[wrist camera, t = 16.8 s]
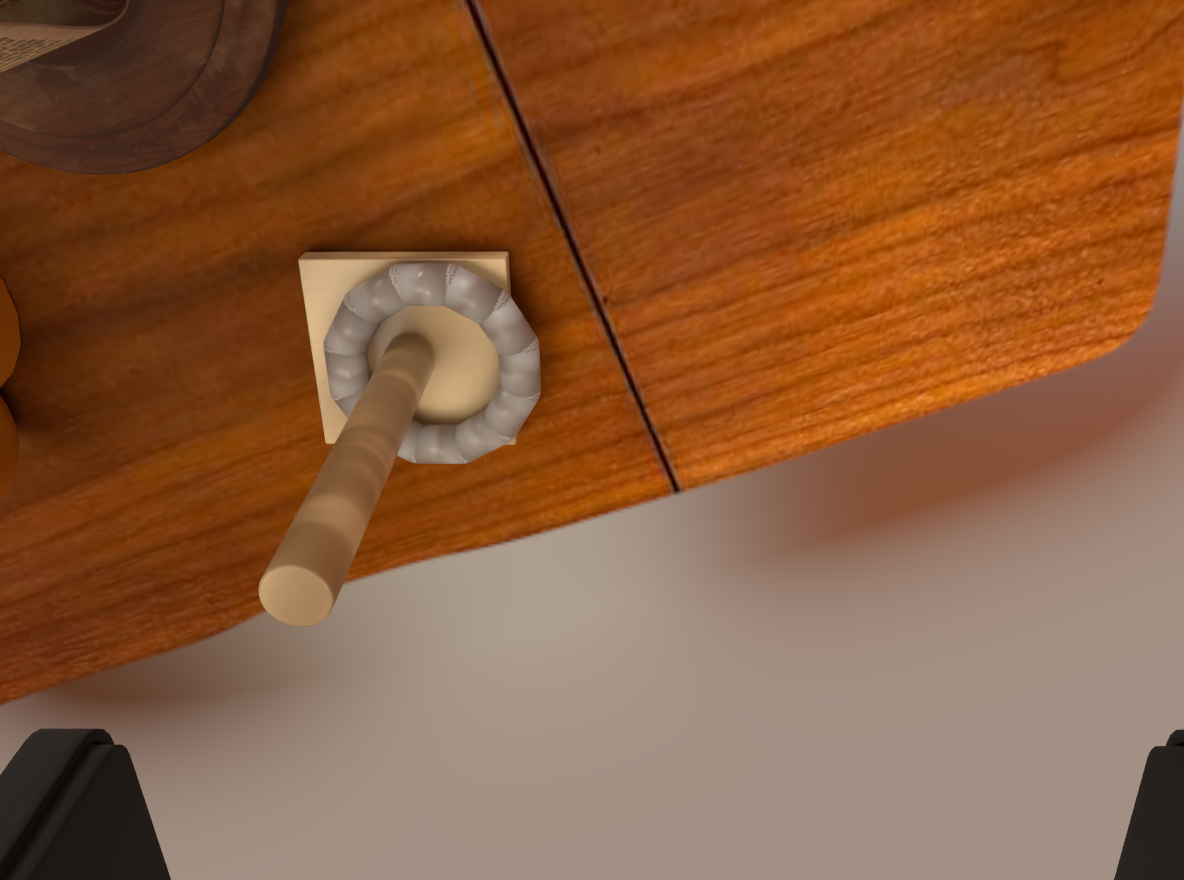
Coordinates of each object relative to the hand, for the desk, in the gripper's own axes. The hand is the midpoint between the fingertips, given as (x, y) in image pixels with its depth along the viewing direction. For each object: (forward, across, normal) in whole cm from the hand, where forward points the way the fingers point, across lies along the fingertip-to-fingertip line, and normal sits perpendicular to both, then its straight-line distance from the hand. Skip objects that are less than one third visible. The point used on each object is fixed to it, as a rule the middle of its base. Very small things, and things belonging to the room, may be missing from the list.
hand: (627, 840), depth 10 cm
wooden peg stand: (+32, +9, +8) cm, 35 cm away
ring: (+30, +8, +8) cm, 33 cm away
